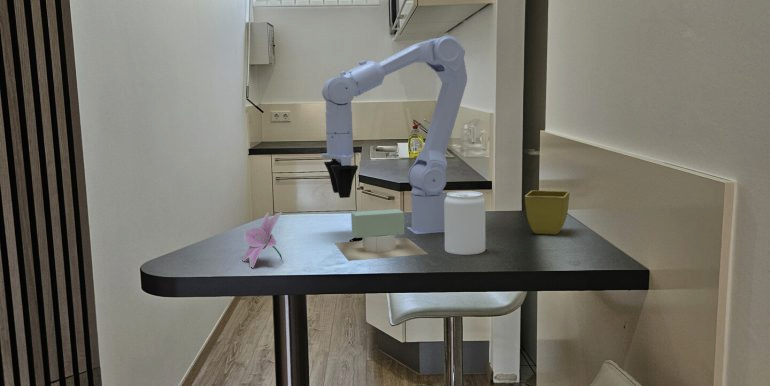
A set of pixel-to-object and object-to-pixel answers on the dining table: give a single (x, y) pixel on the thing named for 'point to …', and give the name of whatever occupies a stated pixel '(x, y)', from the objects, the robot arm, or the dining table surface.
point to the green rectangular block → (377, 223)
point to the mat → (358, 253)
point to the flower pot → (546, 210)
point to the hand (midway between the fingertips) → (341, 194)
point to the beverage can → (464, 222)
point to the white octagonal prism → (379, 243)
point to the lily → (260, 238)
